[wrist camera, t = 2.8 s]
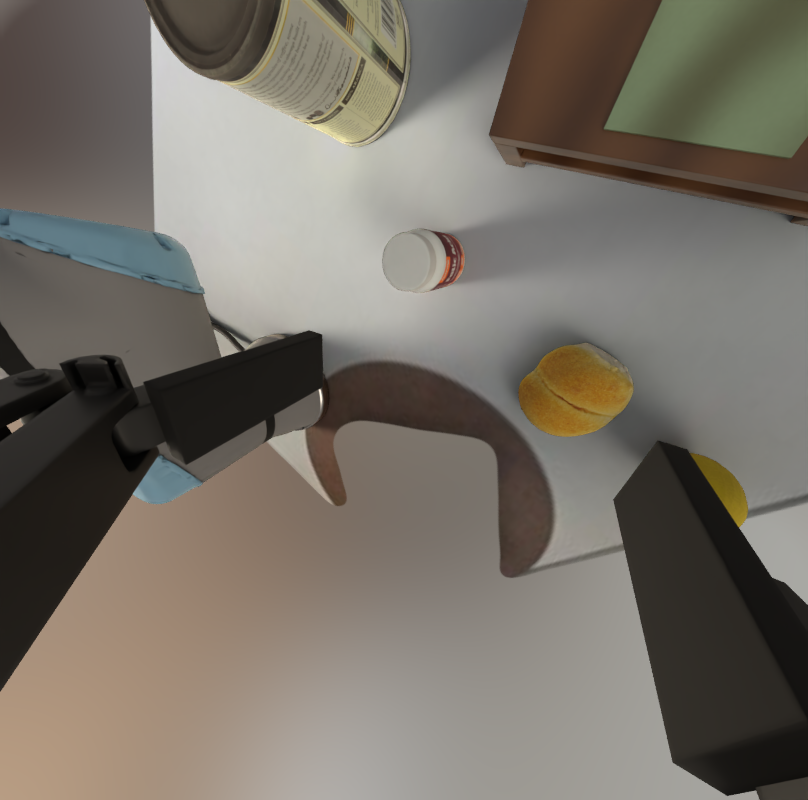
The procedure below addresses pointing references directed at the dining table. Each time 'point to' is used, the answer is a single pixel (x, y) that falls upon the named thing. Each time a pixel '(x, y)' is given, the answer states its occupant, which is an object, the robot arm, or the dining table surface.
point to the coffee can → (299, 56)
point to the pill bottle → (423, 260)
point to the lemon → (724, 487)
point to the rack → (665, 96)
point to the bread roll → (575, 390)
